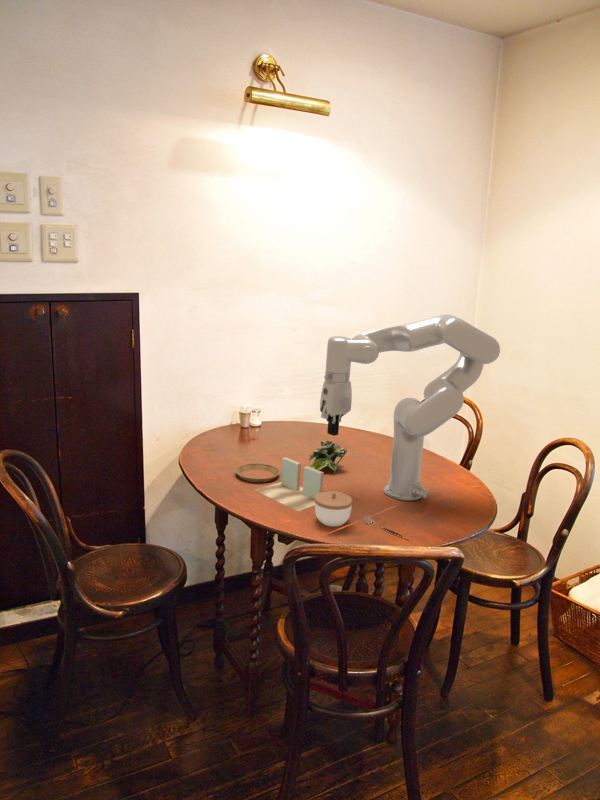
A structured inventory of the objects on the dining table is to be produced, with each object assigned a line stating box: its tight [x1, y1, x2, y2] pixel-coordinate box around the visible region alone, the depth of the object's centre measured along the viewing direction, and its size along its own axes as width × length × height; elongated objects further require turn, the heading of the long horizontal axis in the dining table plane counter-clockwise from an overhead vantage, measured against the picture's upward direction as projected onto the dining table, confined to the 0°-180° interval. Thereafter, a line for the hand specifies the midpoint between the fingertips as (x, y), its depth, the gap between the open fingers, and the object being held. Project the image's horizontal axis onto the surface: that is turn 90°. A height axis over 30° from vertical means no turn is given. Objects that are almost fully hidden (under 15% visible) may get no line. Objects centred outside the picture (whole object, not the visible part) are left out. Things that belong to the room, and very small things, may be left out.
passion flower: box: [308, 440, 348, 474], centre depth 217 cm, size 13×12×14 cm
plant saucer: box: [235, 462, 281, 483], centre depth 209 cm, size 15×15×3 cm
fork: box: [362, 514, 403, 538], centre depth 175 cm, size 3×16×2 cm, turn 44°
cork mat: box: [254, 481, 315, 512], centre depth 195 cm, size 20×14×1 cm
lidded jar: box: [314, 490, 354, 528], centre depth 176 cm, size 11×11×9 cm
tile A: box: [302, 465, 325, 499], centre depth 193 cm, size 7×2×9 cm, turn 44°
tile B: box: [280, 456, 302, 491], centre depth 200 cm, size 7×2×9 cm, turn 44°
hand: (332, 434), depth 195 cm, fingers closed
